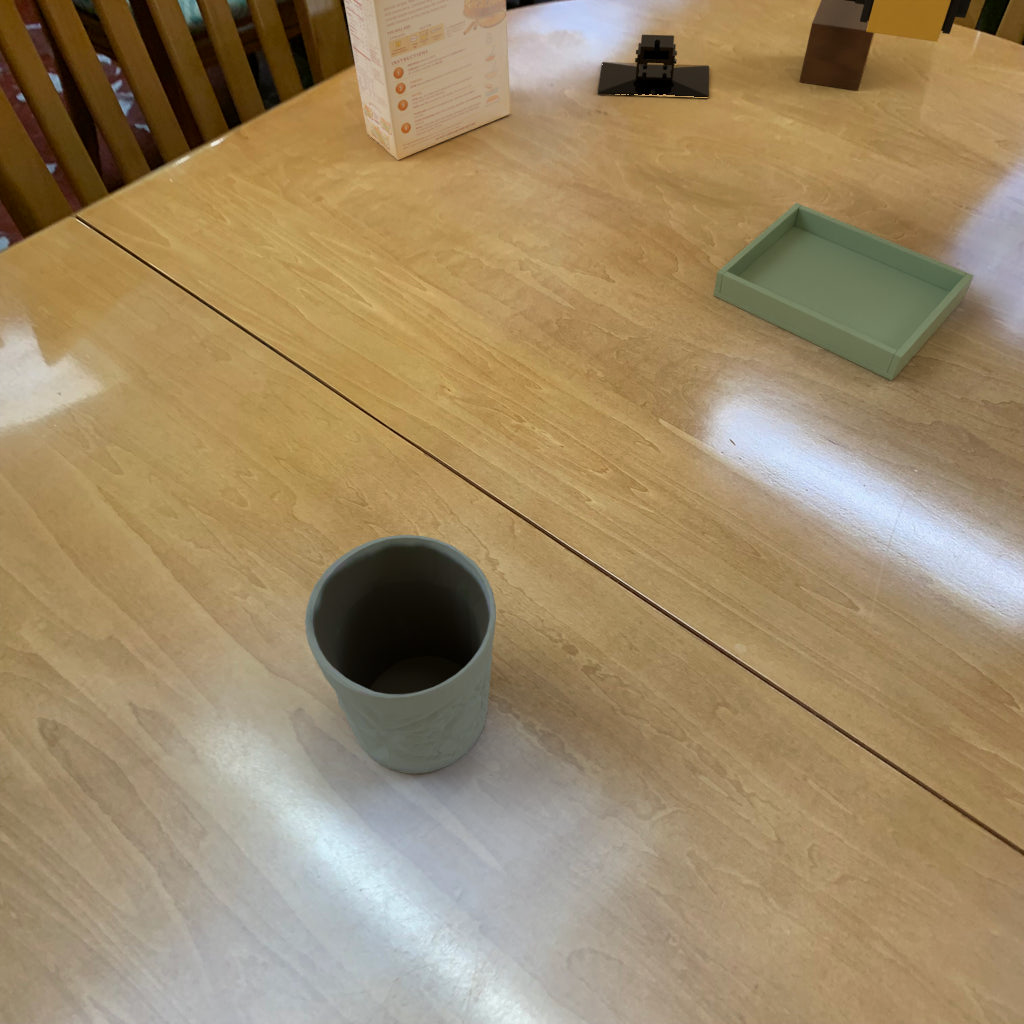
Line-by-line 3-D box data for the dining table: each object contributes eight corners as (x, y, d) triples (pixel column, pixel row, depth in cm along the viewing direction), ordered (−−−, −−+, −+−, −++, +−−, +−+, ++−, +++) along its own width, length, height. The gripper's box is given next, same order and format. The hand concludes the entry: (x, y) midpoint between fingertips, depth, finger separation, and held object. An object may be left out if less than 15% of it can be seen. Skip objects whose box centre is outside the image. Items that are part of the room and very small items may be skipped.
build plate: (597, 96, 104) (598, 54, 101) (602, 64, 109) (603, 23, 105) (708, 99, 103) (714, 57, 99) (709, 67, 107) (714, 25, 104)
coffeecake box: (477, 90, 106) (464, -104, 91) (513, 115, 102) (506, -83, 87) (363, 134, 101) (330, -64, 85) (397, 162, 97) (368, -39, 82)
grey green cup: (347, 646, 61) (310, 539, 52) (499, 634, 62) (490, 526, 52) (340, 795, 55) (297, 704, 46) (509, 781, 55) (501, 688, 46)
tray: (963, 299, 81) (974, 275, 79) (891, 381, 75) (901, 357, 73) (790, 226, 88) (796, 202, 86) (712, 295, 82) (717, 271, 80)
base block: (866, 63, 107) (882, 4, 102) (857, 91, 103) (874, 31, 98) (809, 55, 108) (822, -3, 103) (799, 82, 105) (811, 23, 100)
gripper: (1161, -311, 54) (1032, 14, 68) (862, -325, 58) (800, -17, 72) (1164, -278, 50) (1026, 61, 64) (841, -295, 54) (780, 26, 68)
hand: (907, 17), depth 68 cm, fingers closed on top block, 5 cm apart
